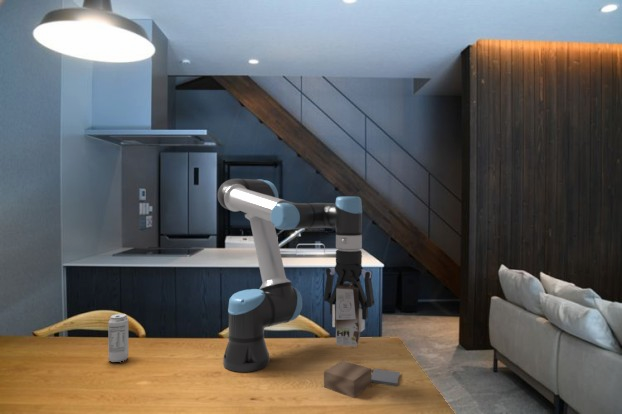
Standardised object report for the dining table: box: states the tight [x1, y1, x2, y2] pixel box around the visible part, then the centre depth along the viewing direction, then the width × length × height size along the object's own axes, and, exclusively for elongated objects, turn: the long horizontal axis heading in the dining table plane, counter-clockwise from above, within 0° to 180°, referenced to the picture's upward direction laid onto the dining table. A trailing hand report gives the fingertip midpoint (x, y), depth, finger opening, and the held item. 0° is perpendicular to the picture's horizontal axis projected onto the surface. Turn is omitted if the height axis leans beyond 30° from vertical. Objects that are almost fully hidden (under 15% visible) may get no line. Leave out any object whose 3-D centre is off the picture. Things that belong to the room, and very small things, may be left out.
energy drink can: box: [107, 313, 129, 363], centre depth 133 cm, size 6×6×15 cm
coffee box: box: [335, 282, 361, 347], centre depth 115 cm, size 9×6×16 cm
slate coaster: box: [371, 368, 401, 387], centre depth 120 cm, size 8×8×1 cm
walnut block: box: [323, 359, 372, 399], centre depth 115 cm, size 10×10×5 cm
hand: (348, 327), depth 115 cm, fingers closed on coffee box, 7 cm apart
